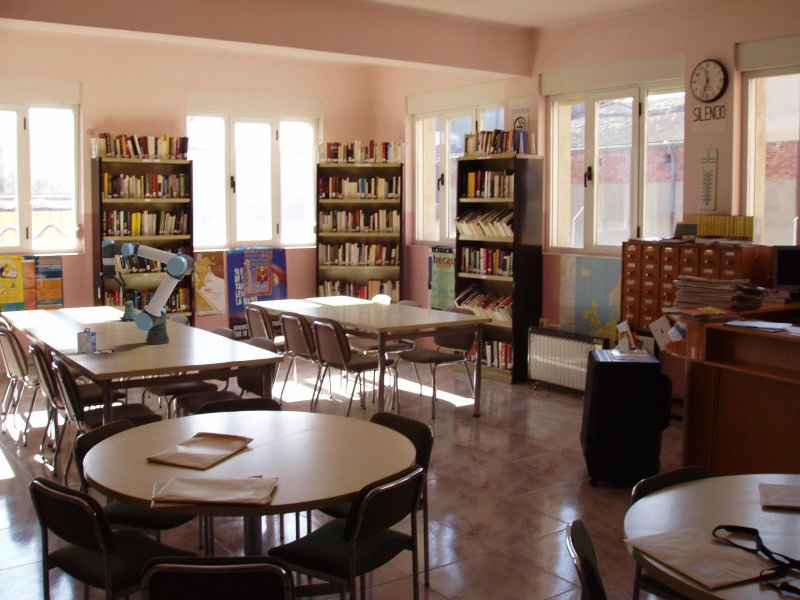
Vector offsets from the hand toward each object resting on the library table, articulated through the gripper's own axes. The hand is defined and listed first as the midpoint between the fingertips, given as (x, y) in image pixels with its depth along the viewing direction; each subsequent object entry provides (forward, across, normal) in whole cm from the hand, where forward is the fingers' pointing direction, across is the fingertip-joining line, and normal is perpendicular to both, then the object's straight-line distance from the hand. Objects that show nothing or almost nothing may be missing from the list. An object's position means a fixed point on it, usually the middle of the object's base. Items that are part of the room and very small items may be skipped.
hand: (110, 297), depth 546 cm
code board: (+31, +8, +25) cm, 41 cm away
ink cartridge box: (+30, +13, +25) cm, 42 cm away
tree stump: (+31, -6, -122) cm, 126 cm away
